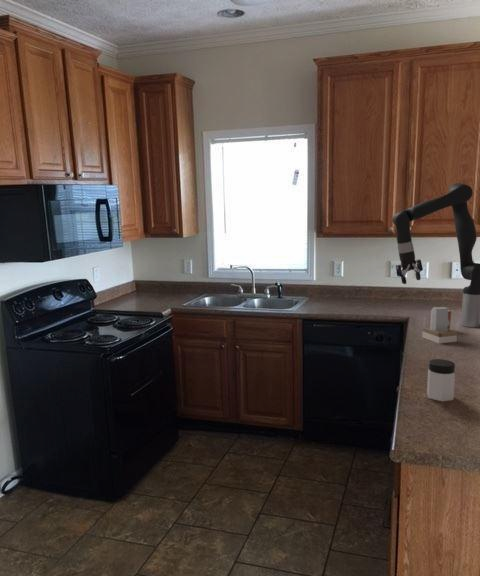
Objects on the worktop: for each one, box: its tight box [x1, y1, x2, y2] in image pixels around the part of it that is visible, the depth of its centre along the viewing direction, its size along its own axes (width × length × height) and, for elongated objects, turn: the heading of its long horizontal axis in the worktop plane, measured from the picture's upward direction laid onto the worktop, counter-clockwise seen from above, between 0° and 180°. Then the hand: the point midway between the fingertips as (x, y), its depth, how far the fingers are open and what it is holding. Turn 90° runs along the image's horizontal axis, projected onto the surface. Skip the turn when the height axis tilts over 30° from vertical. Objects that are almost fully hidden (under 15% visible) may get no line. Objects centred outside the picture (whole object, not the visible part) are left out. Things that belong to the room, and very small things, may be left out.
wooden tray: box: [421, 327, 458, 345], centre depth 243 cm, size 10×12×5 cm
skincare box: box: [431, 306, 449, 333], centre depth 242 cm, size 6×4×12 cm
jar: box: [426, 358, 456, 402], centre depth 171 cm, size 9×8×12 cm
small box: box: [429, 309, 452, 332], centre depth 259 cm, size 8×6×10 cm
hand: (411, 281), depth 262 cm, fingers open, 8 cm apart
